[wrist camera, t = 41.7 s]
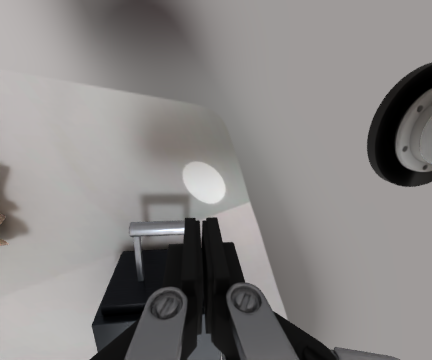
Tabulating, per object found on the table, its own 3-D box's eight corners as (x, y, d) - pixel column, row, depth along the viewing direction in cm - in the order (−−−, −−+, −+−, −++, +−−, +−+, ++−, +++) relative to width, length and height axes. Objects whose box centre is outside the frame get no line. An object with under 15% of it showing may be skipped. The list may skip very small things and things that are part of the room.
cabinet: (121, 254, 28) (91, 325, 19) (213, 249, 30) (225, 312, 21) (132, 336, 34) (113, 420, 25) (209, 328, 36) (216, 404, 27)
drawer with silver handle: (116, 201, 24) (87, 243, 17) (212, 199, 26) (222, 237, 19) (133, 332, 32) (118, 399, 25) (206, 324, 34) (212, 385, 27)
